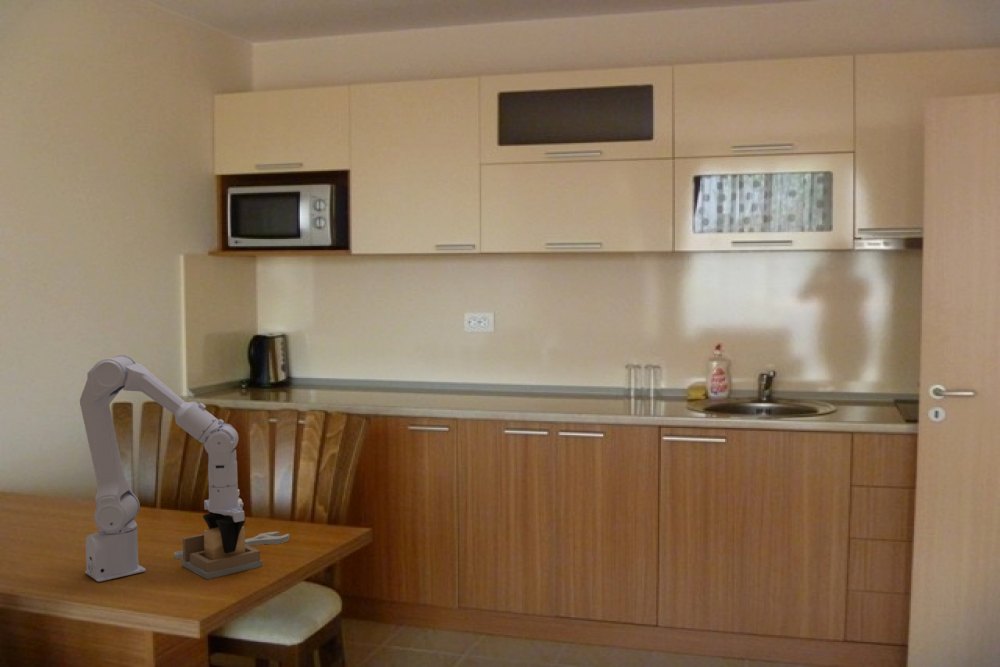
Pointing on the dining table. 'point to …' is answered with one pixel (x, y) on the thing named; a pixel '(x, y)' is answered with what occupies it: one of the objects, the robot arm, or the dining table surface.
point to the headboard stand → (216, 567)
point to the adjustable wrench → (255, 541)
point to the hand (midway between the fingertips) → (224, 549)
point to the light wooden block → (221, 544)
